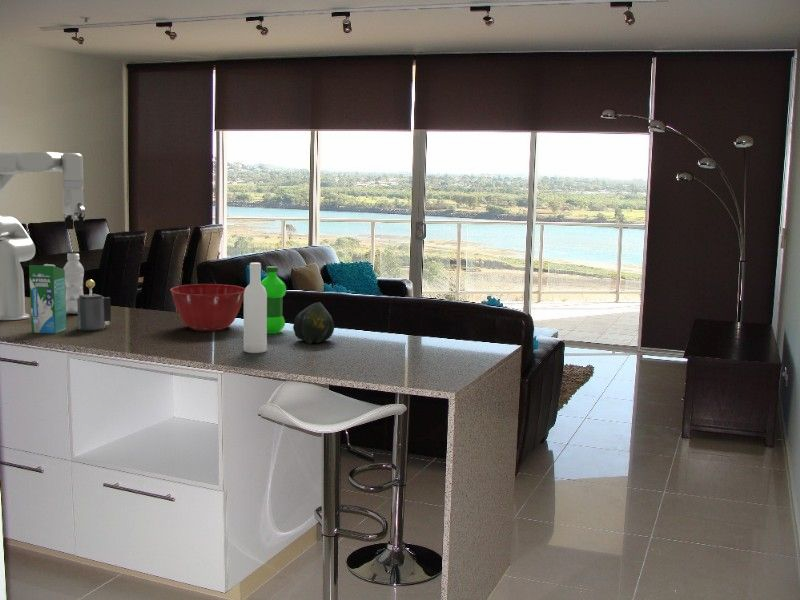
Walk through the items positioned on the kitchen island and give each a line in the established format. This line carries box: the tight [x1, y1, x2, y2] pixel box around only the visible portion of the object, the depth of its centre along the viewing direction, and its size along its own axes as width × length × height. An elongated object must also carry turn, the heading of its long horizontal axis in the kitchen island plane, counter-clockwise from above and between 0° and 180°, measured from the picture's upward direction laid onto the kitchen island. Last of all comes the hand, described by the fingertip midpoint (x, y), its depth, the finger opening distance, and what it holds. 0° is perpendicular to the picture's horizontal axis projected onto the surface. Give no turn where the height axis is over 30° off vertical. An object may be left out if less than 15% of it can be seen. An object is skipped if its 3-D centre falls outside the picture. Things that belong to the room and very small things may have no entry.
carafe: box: [77, 293, 112, 332], centre depth 330 cm, size 9×12×13 cm
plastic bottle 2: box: [261, 265, 287, 335], centre depth 330 cm, size 10×10×25 cm
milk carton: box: [28, 263, 67, 335], centre depth 322 cm, size 9×9×25 cm
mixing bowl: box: [169, 283, 246, 332], centre depth 336 cm, size 28×28×16 cm
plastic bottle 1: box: [63, 253, 85, 315], centre depth 361 cm, size 8×8×25 cm
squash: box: [292, 301, 335, 345], centre depth 315 cm, size 14×15×15 cm
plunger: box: [85, 279, 96, 296], centre depth 328 cm, size 6×6×16 cm
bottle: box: [243, 262, 268, 354], centre depth 294 cm, size 8×8×30 cm
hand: (74, 230), depth 338 cm, fingers open, 9 cm apart
